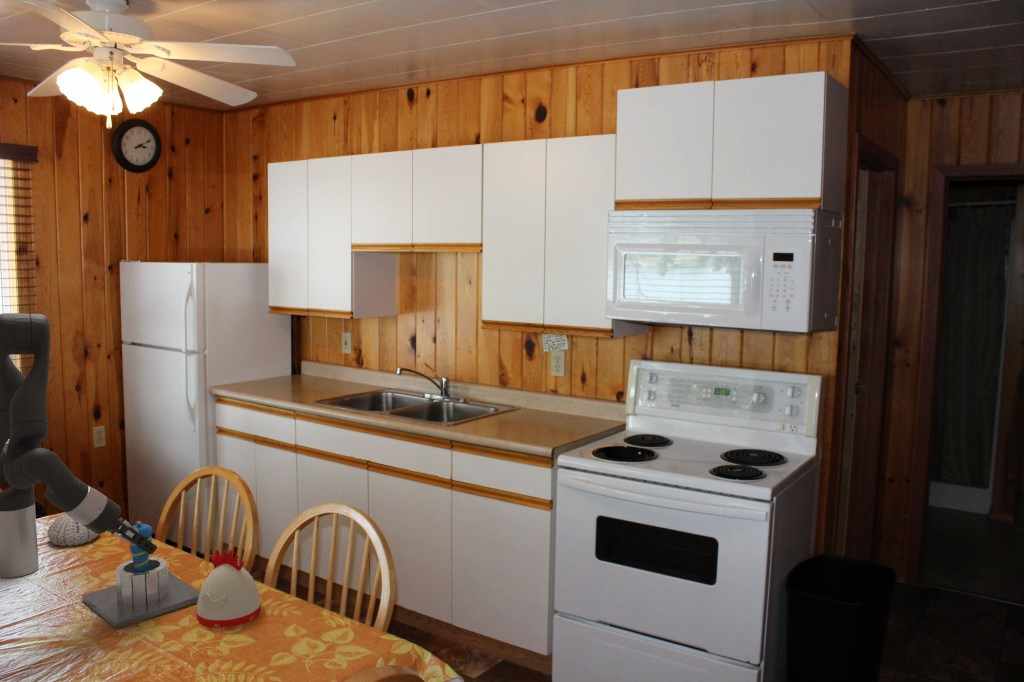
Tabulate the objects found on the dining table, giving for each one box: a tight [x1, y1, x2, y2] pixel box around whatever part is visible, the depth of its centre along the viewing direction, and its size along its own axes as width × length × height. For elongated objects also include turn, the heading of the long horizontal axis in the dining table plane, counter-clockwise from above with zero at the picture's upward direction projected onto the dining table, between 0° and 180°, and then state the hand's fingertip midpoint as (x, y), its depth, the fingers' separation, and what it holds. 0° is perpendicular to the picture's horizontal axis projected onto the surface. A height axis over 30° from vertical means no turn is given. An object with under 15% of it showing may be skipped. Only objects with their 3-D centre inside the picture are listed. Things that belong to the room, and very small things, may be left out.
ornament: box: [129, 519, 153, 573], centre depth 191 cm, size 5×5×15 cm
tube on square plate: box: [81, 556, 200, 630], centre depth 192 cm, size 20×20×8 cm
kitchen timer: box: [196, 548, 262, 628], centre depth 186 cm, size 14×14×15 cm
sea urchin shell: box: [47, 513, 99, 547], centre depth 230 cm, size 13×14×8 cm
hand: (148, 547), depth 192 cm, fingers closed on ornament, 5 cm apart
